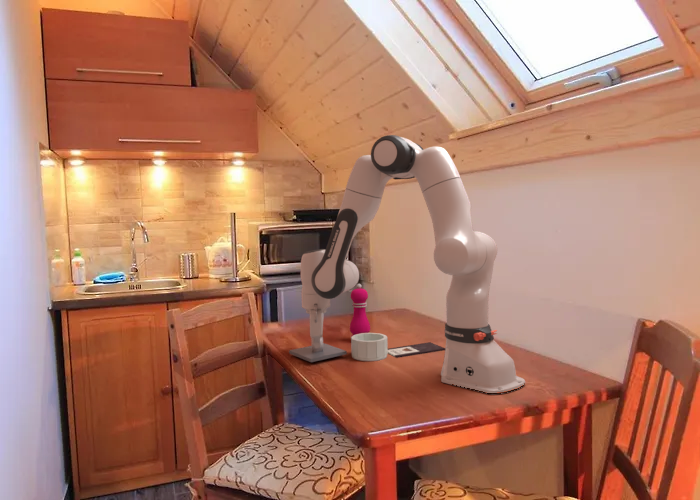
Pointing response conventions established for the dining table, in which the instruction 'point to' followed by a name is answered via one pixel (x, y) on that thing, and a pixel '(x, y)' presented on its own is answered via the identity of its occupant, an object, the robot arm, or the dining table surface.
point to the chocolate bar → (414, 349)
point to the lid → (317, 352)
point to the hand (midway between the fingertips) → (317, 345)
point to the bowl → (369, 346)
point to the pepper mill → (359, 311)
